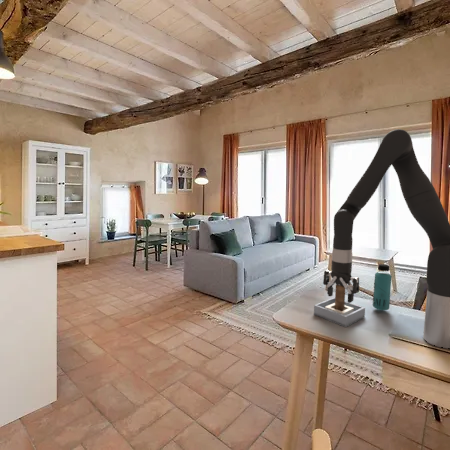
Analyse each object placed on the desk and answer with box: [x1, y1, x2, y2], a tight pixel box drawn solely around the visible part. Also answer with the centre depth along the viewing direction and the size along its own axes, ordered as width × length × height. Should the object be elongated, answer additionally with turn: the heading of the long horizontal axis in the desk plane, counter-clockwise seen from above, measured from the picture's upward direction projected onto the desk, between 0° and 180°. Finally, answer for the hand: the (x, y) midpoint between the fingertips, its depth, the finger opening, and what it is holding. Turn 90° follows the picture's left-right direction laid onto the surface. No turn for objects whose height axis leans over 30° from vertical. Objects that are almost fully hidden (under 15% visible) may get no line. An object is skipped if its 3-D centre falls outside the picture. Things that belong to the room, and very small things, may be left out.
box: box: [313, 296, 366, 328], centre depth 119 cm, size 14×14×4 cm
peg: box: [334, 283, 346, 311], centre depth 119 cm, size 4×4×12 cm
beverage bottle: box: [372, 263, 393, 311], centre depth 123 cm, size 6×7×20 cm
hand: (339, 299), depth 119 cm, fingers open, 8 cm apart
